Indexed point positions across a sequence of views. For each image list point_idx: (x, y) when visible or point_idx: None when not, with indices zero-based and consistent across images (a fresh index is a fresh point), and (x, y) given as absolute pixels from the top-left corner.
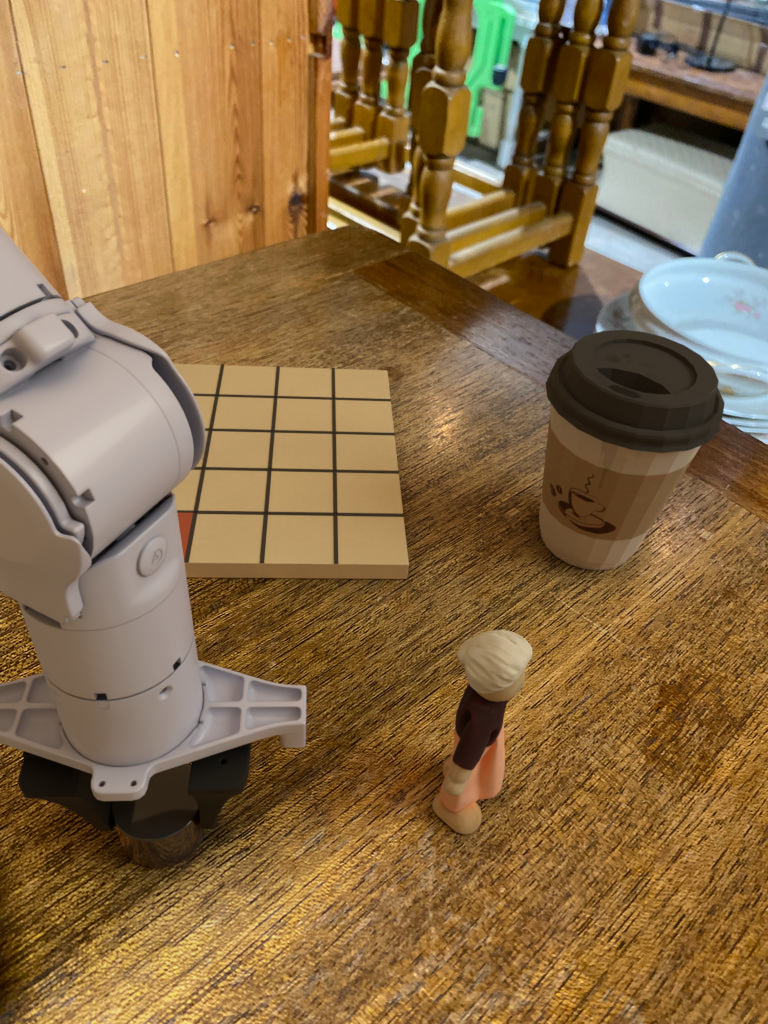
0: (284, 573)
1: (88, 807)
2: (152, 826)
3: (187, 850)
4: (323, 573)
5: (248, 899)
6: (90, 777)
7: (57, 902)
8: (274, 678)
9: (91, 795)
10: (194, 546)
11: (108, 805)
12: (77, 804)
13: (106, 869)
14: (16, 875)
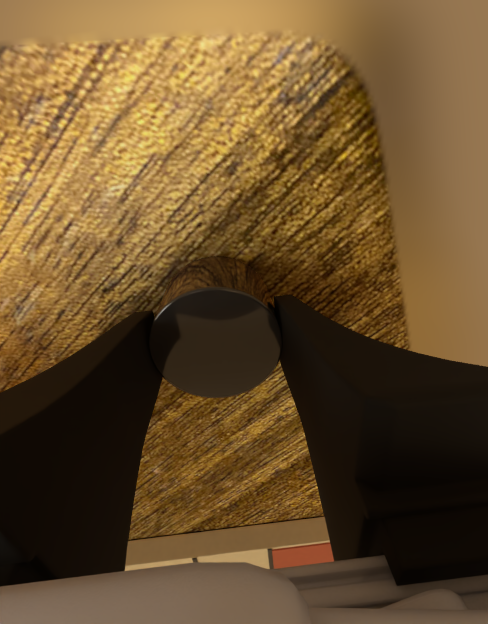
0: (173, 543)
1: (314, 336)
2: (209, 309)
3: (172, 281)
4: (135, 548)
5: (75, 227)
6: (323, 405)
7: (327, 203)
8: (149, 459)
9: (313, 362)
10: (265, 559)
11: (284, 332)
12: (337, 343)
13: (275, 250)
14: (384, 233)
